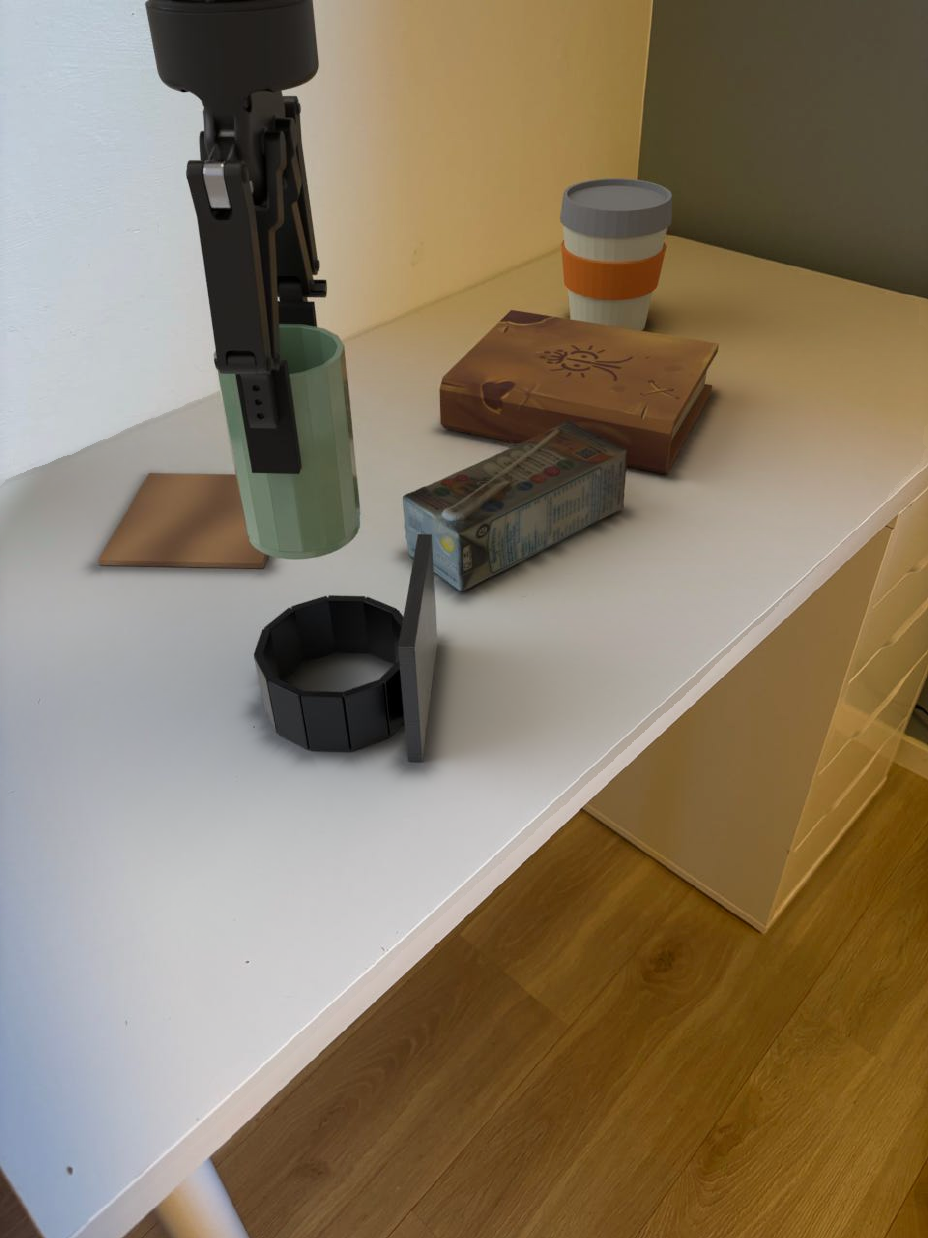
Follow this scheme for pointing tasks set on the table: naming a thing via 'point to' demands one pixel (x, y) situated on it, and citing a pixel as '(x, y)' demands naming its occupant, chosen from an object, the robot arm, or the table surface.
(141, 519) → the cork tile
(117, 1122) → the table surface
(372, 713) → the ring cup holder
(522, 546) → the beverage carton
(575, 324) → the diary
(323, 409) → the cup
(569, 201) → the reusable coffee cup
